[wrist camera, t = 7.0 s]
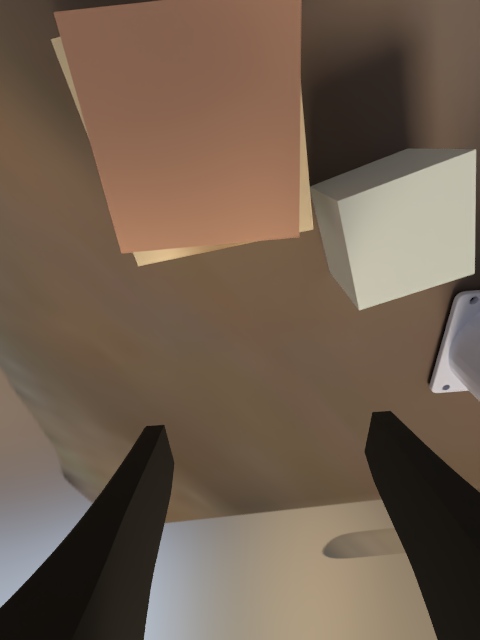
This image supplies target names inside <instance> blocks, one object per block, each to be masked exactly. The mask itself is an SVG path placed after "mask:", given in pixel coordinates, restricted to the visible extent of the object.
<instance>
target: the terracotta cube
mask: <svg viewBox="0 0 480 640" xmlns="http://www.w3.org/2000/svg"><path fill="white" fill-rule="evenodd" d="M54 16H55V19H56V23H57V27H58V30H59V34H60V37H61V41H62V44H63V48H64V51H65V55H66V58H67V62H68V66H69V69H70V73H71V76H72V80H73V83H74V87H75V90H76V94H77V97H78V101H79V104H80V108H81V112H82V115H83V119H84V122H85V126H86V129H87V133H88V136H89V140H90V143H91V147H92V150H93V154H94V158H95V161H96V165H97V168H98V172H99V175H100V179H101V182H102V186H103V189H104V193H105V196H106V200H107V204H108V207H109V211H110V214H111V218H112V221H113V225H114V228H115V232H116V235H117V239H118V242H119V246H120V250H121V253H131V252H141V251H152V250H163V249H174V248H185V247H196V246H207V245H218V244H229V243H240V242H250V241H261V240H272V239H283V238H294V237H299V205H300V97H301V0H159V1H150V2H141V3H132V4H123V5H114V6H104V7H95V8H86V9H77V10H68V11H59V12H54Z"/></svg>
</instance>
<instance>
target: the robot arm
mask: <svg viewBox="0 0 480 640" xmlns="http://www.w3.org/2000/svg"><path fill="white" fill-rule="evenodd" d="M473 297H474V298H473ZM471 298H473V300H471V301H470V299H471ZM429 388H430V389H431V390H432V392H434V393H442V392H455V391H467V390H469V391H470V392H471V393H472V394H473V395H474V396H475V397H476V398H477V399H478V400H479V401H480V290H475V291H464V292H460V293H459V294H457V295H456V296H455V298H454V301H453V304H452V308H451V311H450V315H449V318H448V322H447V325H446V329H445V332H444V336H443V339H442V343H441V346H440V350H439V353H438V357H437V360H436V364H435V368H434V371H433V375H432V378H431V382H430V385H429ZM365 455H366V458H367V461H368V464H369V467H370V471H371V474H372V477H373V479H374V482H375V485H376V487H377V489H378V492H379V494H380V496H381V498H382V501H383V503H384V505H385V507H386V510H387V512H388V514H389V516H390V518H391V521H392V523H393V525H394V527H395V530H396V532H397V534H398V536H399V538H400V541H401V543H402V545H403V547H404V549H405V552H406V554H407V556H408V559H409V561H410V563H411V566H412V568H413V571H414V573H415V576H416V579H417V581H418V584H419V587H420V590H421V592H422V596H423V598H424V601H425V604H426V607H427V609H428V612H429V615H430V618H431V621H432V624H433V627H434V630H435V633H436V636H437V639H438V640H480V493H479V492H478V491H477V490H476V489H475V488H474V487H472V486H471V485H470V484H469V483H468V482H467V481H465V480H464V479H463V478H462V477H461V476H460V475H458V474H457V473H456V472H455V471H454V470H453V469H452V468H451V467H449V466H448V465H447V464H446V463H445V462H444V461H443V460H442V459H441V458H439V457H438V456H437V455H436V454H435V453H434V452H433V451H432V450H431V449H430V448H429V447H428V446H426V445H425V444H424V443H423V442H422V441H421V440H420V439H419V438H418V437H417V436H416V435H415V434H414V433H413V432H412V431H411V430H410V429H409V428H408V427H407V426H406V425H405V424H403V423H402V422H401V421H400V420H399V419H398V418H397V417H396V416H395V415H394V414H393V413H392V412H391V411H385V412H373V413H372V418H371V422H370V427H369V432H368V437H367V442H366V447H365ZM173 470H174V460H173V456H172V453H171V449H170V445H169V441H168V438H167V434H166V430H165V426H164V425H157V426H146V427H145V428H144V430H143V431H142V433H141V435H140V436H139V438H138V439H137V441H136V443H135V444H134V446H133V447H132V449H131V450H130V452H129V453H128V455H127V456H126V458H125V459H124V461H123V462H122V464H121V465H120V467H119V468H118V470H117V471H116V473H115V474H114V475H113V477H112V478H111V480H110V481H109V483H108V484H107V485H106V487H105V488H104V490H103V491H102V492H101V494H100V495H99V496H98V497H97V499H96V500H95V501H94V503H93V504H92V505H91V507H90V508H89V509H88V511H87V512H86V513H85V515H84V516H83V517H82V518H81V520H80V521H79V522H78V523H77V525H76V526H75V527H74V528H73V529H72V531H71V532H70V533H69V534H68V535H67V537H66V538H65V539H64V540H63V541H62V543H61V544H60V545H59V546H58V547H57V548H56V549H55V551H54V552H53V553H52V554H51V555H50V556H49V557H48V558H47V559H46V561H45V562H44V563H43V564H42V565H41V566H40V567H39V568H38V569H37V570H36V572H35V573H34V574H33V575H32V576H31V577H30V578H29V579H28V580H27V581H26V582H25V583H24V584H23V585H22V586H21V587H20V589H19V590H18V591H17V592H16V593H15V594H14V595H13V596H12V597H11V598H10V599H9V600H8V601H7V602H6V603H5V604H4V605H3V606H2V607H1V608H0V640H144V632H145V624H146V617H147V610H148V604H149V596H150V589H151V583H152V578H153V572H154V567H155V563H156V559H157V554H158V549H159V545H160V540H161V536H162V532H163V527H164V523H165V518H166V514H167V509H168V505H169V500H170V495H171V488H172V480H173Z"/></svg>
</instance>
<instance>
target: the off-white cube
mask: <svg viewBox="0 0 480 640" xmlns="http://www.w3.org/2000/svg"><path fill="white" fill-rule="evenodd" d="M310 192H311V196H312V200H313V204H314V209H315V213H316V217H317V221H318V225H319V230H320V234H321V238H322V242H323V247H324V251H325V255H326V259H327V263H328V268H329V272H330V273H331V275H332V276H333V277H334V278H335V280H336V281H337V282H338V284H339V285H340V286H341V287H342V289H343V290H344V291H345V293H346V294H347V295H348V296H349V298H350V299H351V300H352V302H353V303H354V304H355V306H356V307H357V308H358V309H359V310H362V309H365V308H368V307H371V306H374V305H377V304H381V303H384V302H387V301H390V300H393V299H396V298H400V297H403V296H406V295H409V294H412V293H415V292H418V291H422V290H425V289H428V288H431V287H434V286H437V285H441V284H444V283H447V282H450V281H453V280H456V279H459V278H463V277H466V276H469V275H472V274H475V208H476V149H410V148H408V149H405V150H402V151H400V152H397V153H395V154H392V155H389V156H387V157H384V158H382V159H379V160H377V161H374V162H371V163H369V164H366V165H364V166H361V167H359V168H356V169H353V170H351V171H348V172H346V173H343V174H341V175H338V176H335V177H333V178H330V179H328V180H325V181H323V182H320V183H317V184H315V185H312V186H310Z"/></svg>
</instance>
